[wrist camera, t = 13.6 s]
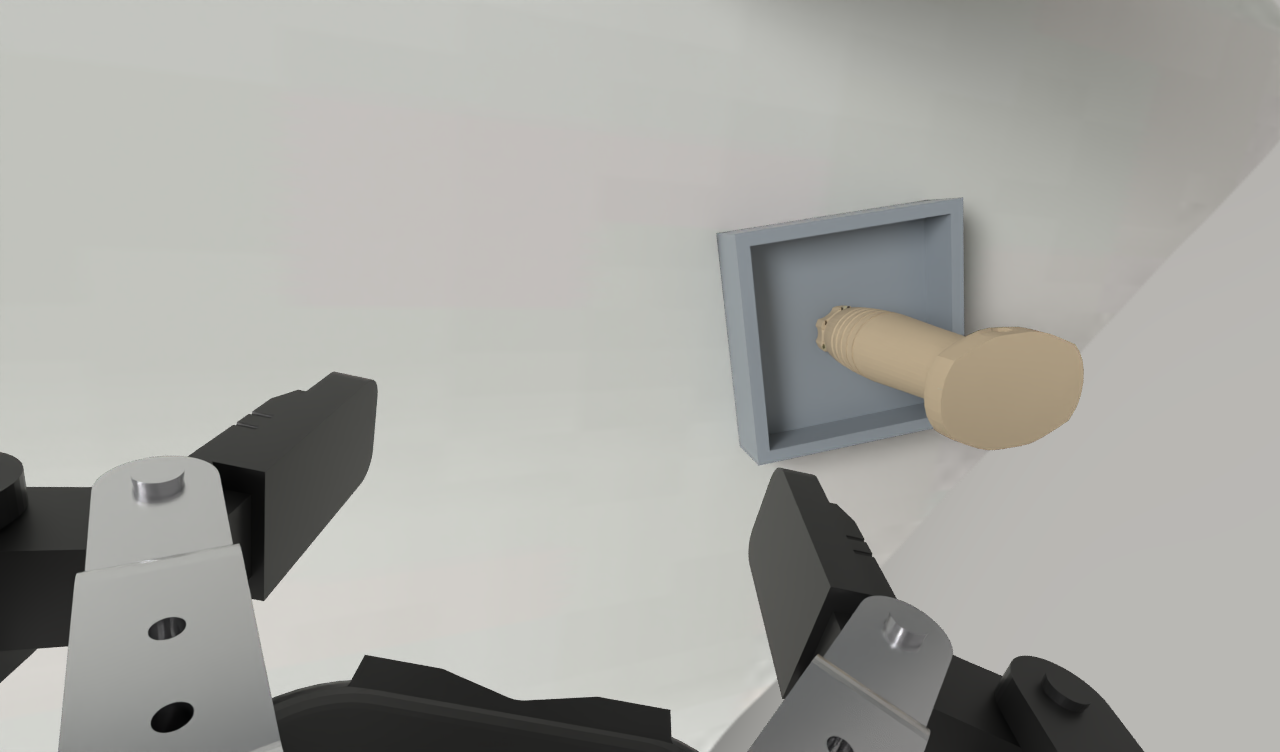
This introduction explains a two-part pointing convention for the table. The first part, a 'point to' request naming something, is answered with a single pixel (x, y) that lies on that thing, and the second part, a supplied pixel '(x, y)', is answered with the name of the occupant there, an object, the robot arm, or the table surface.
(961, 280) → the tray
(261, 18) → the table surface
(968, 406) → the beige club-shaped piece
